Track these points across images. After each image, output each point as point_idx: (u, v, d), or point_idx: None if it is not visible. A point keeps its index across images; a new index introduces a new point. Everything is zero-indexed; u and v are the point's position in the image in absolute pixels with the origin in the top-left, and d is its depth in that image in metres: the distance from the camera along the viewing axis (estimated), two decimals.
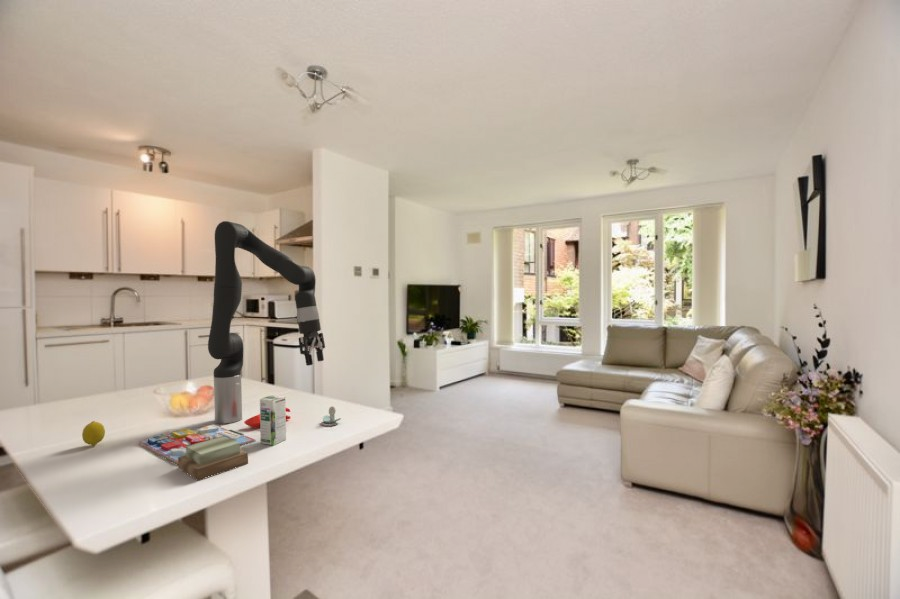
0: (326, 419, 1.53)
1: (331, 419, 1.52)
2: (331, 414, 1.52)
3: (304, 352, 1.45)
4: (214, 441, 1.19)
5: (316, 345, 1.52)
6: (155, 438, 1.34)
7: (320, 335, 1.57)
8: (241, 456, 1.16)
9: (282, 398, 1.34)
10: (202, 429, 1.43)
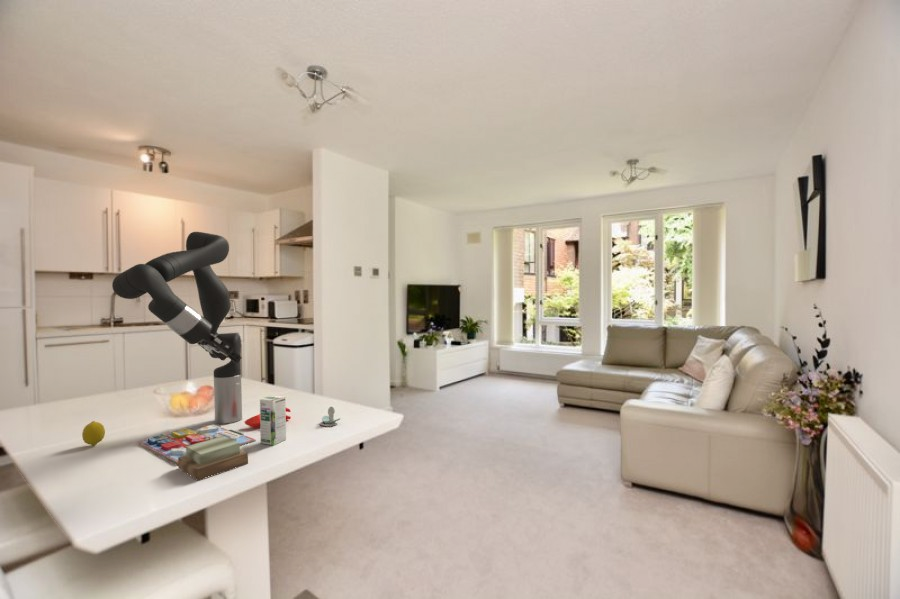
0: (325, 419, 1.52)
1: (330, 419, 1.51)
2: (330, 414, 1.51)
3: None
4: (214, 441, 1.19)
5: None
6: (155, 438, 1.34)
7: None
8: (241, 456, 1.16)
9: (282, 398, 1.34)
10: (202, 429, 1.43)
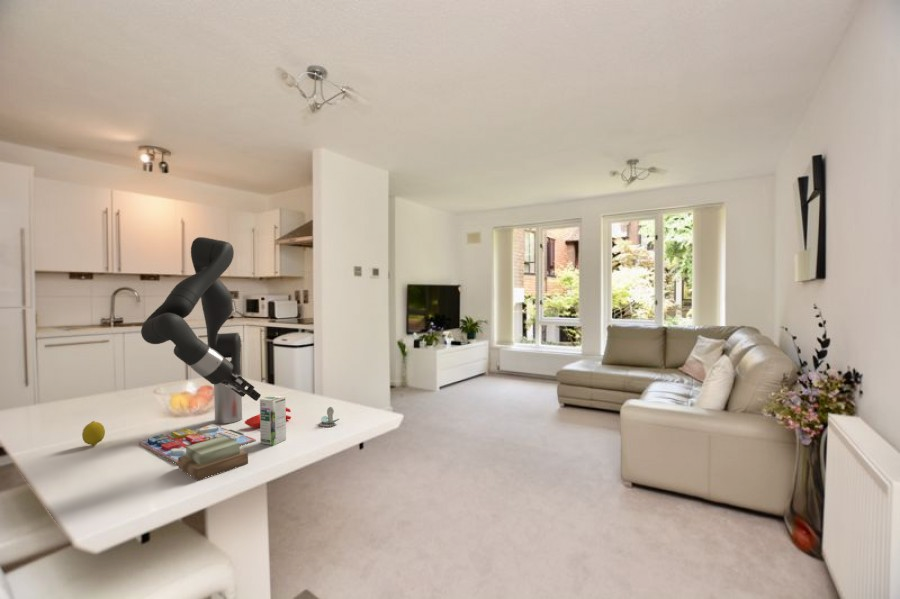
0: (324, 420, 1.52)
1: (329, 420, 1.51)
2: (329, 415, 1.51)
3: None
4: (214, 441, 1.19)
5: None
6: (155, 438, 1.34)
7: None
8: (241, 456, 1.16)
9: (282, 398, 1.34)
10: (202, 429, 1.43)
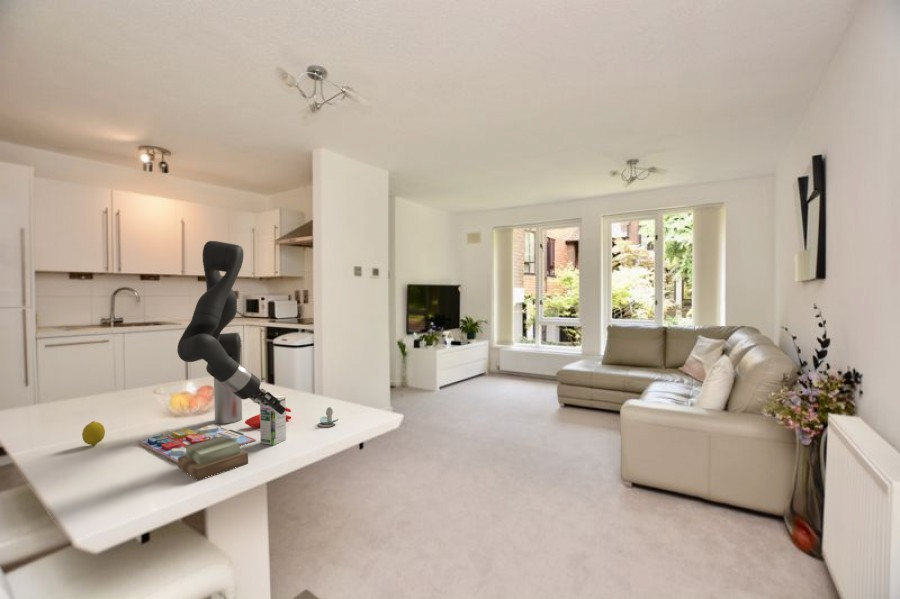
0: (323, 420, 1.51)
1: (328, 420, 1.51)
2: (328, 415, 1.51)
3: None
4: (214, 441, 1.19)
5: None
6: (155, 438, 1.34)
7: None
8: (241, 456, 1.16)
9: (282, 398, 1.34)
10: (202, 429, 1.43)
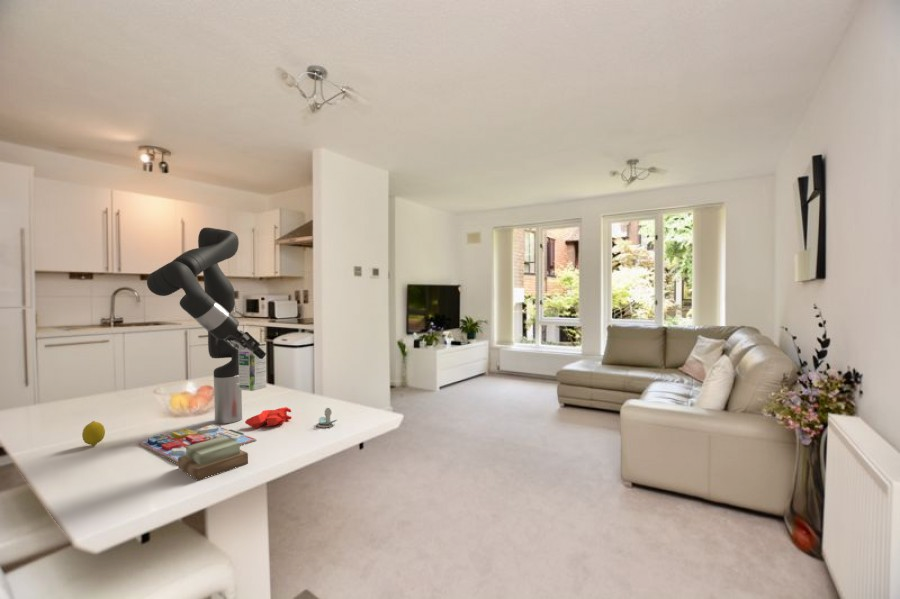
0: (322, 421, 1.51)
1: (327, 421, 1.50)
2: (327, 415, 1.50)
3: None
4: (214, 441, 1.19)
5: None
6: (155, 438, 1.34)
7: None
8: (241, 456, 1.16)
9: (262, 343, 1.27)
10: (202, 429, 1.43)
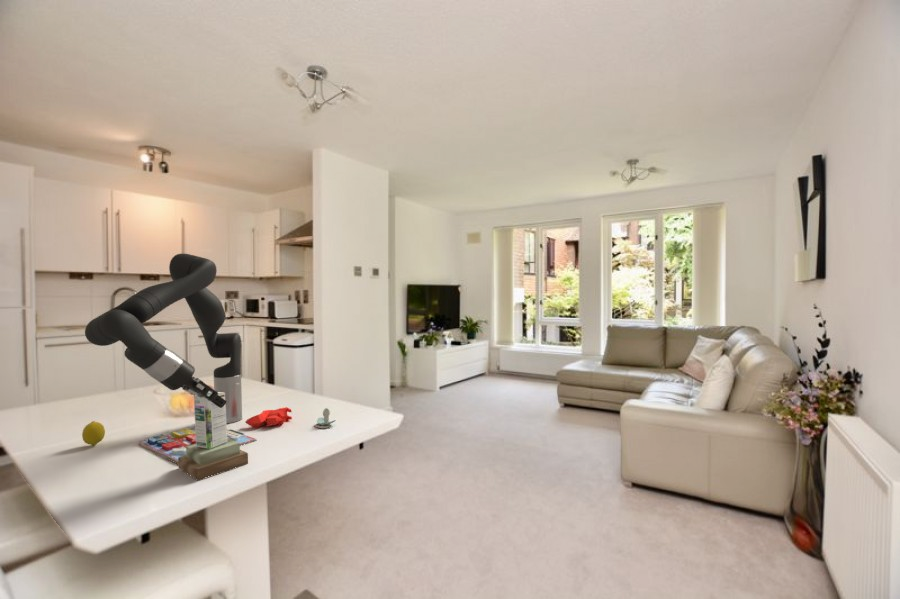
0: (320, 421, 1.50)
1: (325, 421, 1.49)
2: (325, 416, 1.49)
3: None
4: None
5: (197, 393, 1.12)
6: (155, 438, 1.34)
7: None
8: (241, 456, 1.16)
9: (220, 394, 1.15)
10: None
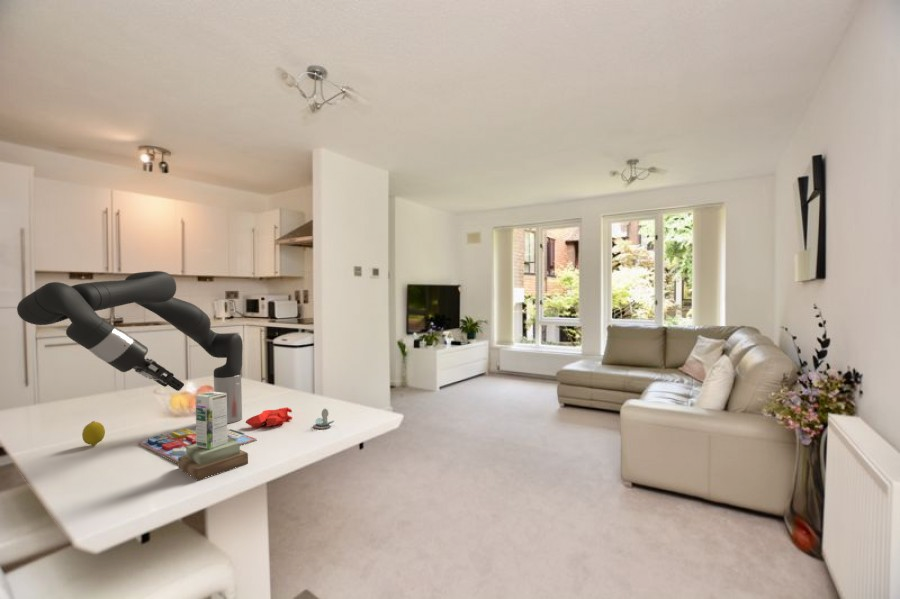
0: (319, 422, 1.50)
1: (324, 422, 1.49)
2: (324, 417, 1.49)
3: None
4: None
5: None
6: (155, 438, 1.34)
7: None
8: (241, 456, 1.16)
9: (222, 394, 1.16)
10: None
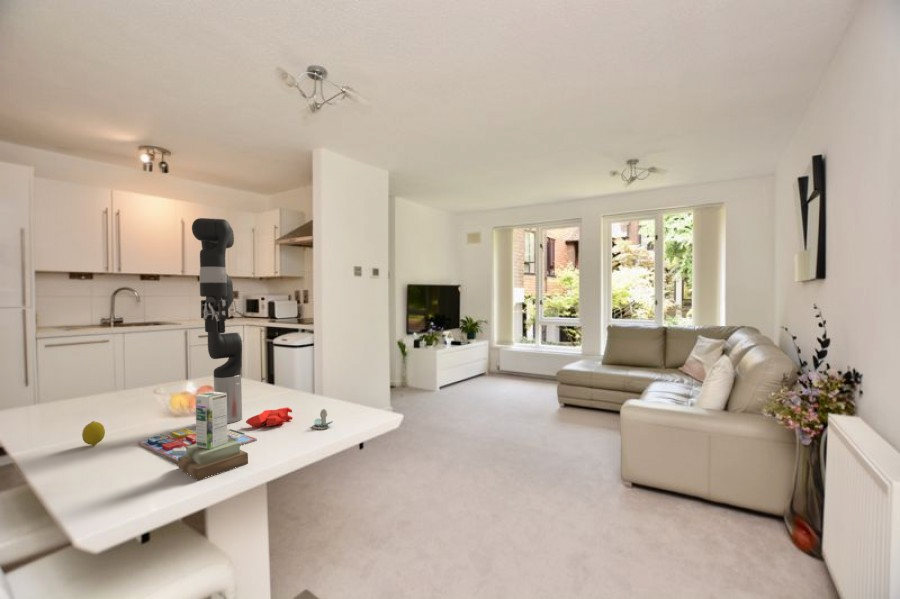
0: (317, 422, 1.49)
1: (322, 422, 1.48)
2: (322, 417, 1.48)
3: None
4: None
5: (212, 313, 1.30)
6: (155, 438, 1.34)
7: None
8: (241, 456, 1.16)
9: (222, 394, 1.16)
10: None
